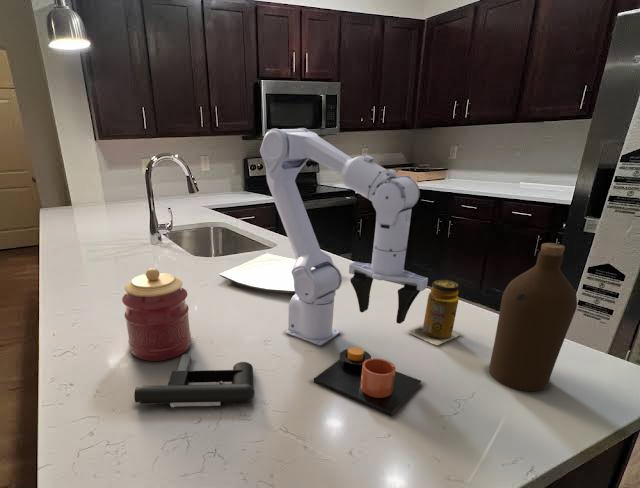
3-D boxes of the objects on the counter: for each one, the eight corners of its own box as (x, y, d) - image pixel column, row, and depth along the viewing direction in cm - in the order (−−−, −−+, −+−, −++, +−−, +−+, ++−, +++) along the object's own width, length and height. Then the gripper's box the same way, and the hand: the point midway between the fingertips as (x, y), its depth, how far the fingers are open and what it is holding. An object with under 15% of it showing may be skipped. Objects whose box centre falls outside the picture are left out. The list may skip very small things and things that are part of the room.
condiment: (460, 335, 92) (470, 284, 88) (436, 346, 88) (446, 293, 83) (431, 323, 98) (439, 275, 93) (407, 333, 94) (415, 283, 89)
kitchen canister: (156, 328, 98) (147, 255, 91) (203, 339, 92) (197, 263, 85) (116, 354, 87) (103, 273, 80) (167, 368, 82) (157, 283, 75)
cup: (354, 389, 73) (356, 367, 71) (369, 376, 76) (371, 355, 75) (383, 401, 69) (386, 378, 68) (397, 387, 73) (400, 365, 71)
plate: (213, 283, 125) (212, 274, 124) (265, 259, 147) (265, 251, 146) (295, 303, 110) (296, 293, 109) (341, 273, 132) (341, 265, 131)
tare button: (344, 358, 80) (344, 351, 79) (352, 352, 82) (352, 345, 81) (358, 363, 78) (359, 356, 78) (366, 357, 80) (366, 350, 80)
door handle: (152, 351, 83) (131, 395, 68) (253, 349, 83) (254, 393, 68) (154, 366, 84) (133, 413, 69) (253, 364, 84) (254, 410, 69)
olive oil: (550, 401, 70) (595, 258, 60) (480, 381, 76) (512, 248, 66) (552, 372, 78) (593, 242, 68) (489, 356, 84) (519, 234, 74)
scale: (313, 382, 76) (314, 370, 75) (348, 356, 85) (349, 345, 84) (391, 417, 67) (392, 404, 66) (421, 383, 76) (423, 371, 75)
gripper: (342, 244, 77) (337, 312, 82) (420, 260, 68) (409, 334, 73) (362, 237, 82) (356, 301, 87) (436, 250, 72) (425, 321, 78)
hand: (381, 315), depth 80 cm, fingers open, 7 cm apart
